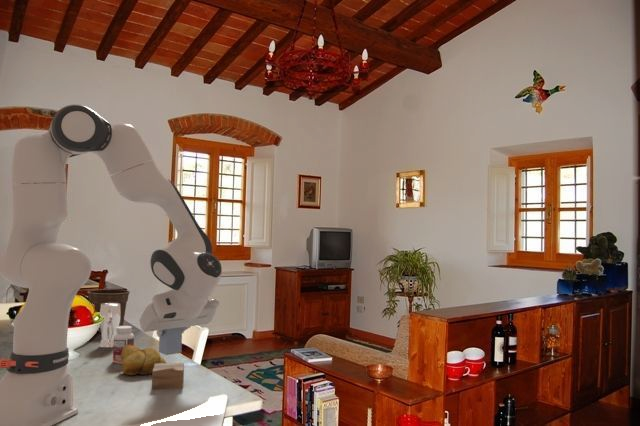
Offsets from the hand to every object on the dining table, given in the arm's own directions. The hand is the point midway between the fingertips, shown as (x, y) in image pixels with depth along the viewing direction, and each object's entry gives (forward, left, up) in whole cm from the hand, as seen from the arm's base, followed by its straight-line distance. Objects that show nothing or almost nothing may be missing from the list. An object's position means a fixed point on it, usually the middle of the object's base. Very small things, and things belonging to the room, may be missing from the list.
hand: (169, 333), depth 145 cm
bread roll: (+10, +11, -14) cm, 20 cm away
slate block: (0, 0, -5) cm, 5 cm away
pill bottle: (+20, +22, -14) cm, 33 cm away
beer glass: (+40, +36, -14) cm, 56 cm away
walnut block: (-1, 0, -14) cm, 14 cm away
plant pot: (+67, +49, -14) cm, 84 cm away
